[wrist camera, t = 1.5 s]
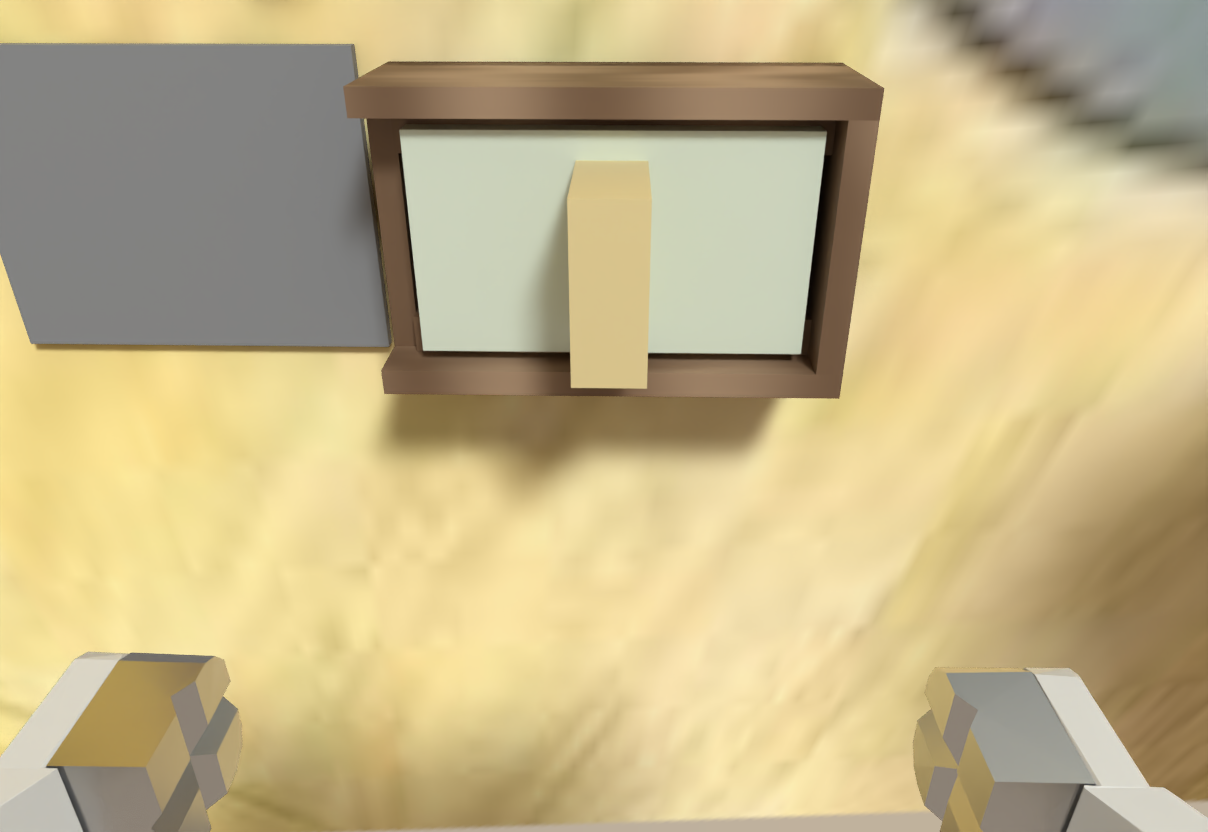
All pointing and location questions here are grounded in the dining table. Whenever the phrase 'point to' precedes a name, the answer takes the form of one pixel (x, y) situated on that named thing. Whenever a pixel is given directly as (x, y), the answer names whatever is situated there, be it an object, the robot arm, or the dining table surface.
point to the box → (629, 100)
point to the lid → (612, 240)
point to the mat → (188, 196)
